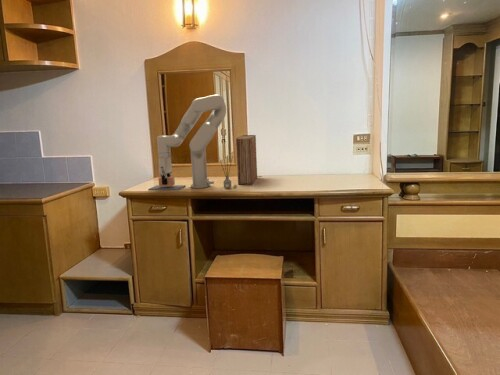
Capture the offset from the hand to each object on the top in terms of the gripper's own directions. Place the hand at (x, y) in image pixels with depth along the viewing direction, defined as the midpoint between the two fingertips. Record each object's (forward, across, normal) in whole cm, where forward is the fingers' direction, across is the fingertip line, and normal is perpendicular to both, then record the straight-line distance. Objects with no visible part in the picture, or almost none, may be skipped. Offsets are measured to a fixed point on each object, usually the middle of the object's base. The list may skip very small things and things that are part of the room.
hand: (166, 183), depth 248 cm
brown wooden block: (+4, -26, +47) cm, 54 cm away
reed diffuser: (+4, -2, +40) cm, 40 cm away
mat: (+3, 0, 0) cm, 3 cm away
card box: (+1, 0, 0) cm, 1 cm away
